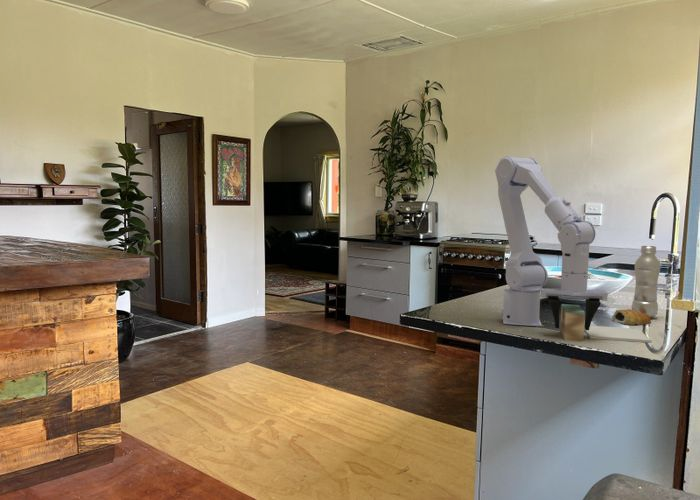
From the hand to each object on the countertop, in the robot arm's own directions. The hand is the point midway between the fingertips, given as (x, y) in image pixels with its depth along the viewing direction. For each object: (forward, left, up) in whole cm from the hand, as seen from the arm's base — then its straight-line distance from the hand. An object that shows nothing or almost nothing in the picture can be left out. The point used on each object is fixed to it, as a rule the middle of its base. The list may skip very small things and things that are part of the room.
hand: (571, 328), depth 124 cm
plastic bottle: (+23, +28, -2) cm, 36 cm away
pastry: (+18, +20, -2) cm, 27 cm away
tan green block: (0, 0, -2) cm, 2 cm away
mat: (+10, +5, -2) cm, 12 cm away
